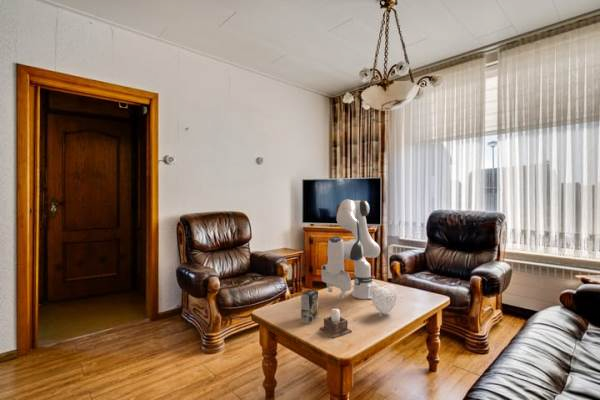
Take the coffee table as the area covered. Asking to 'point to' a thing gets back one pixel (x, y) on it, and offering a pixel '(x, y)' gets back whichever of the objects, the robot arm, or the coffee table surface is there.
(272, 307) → the coffee table surface
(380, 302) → the decorative heart
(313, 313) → the coffee box
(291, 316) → the coffee table surface
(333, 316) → the paper roll
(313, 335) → the coffee table surface
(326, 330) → the walnut roll holder
